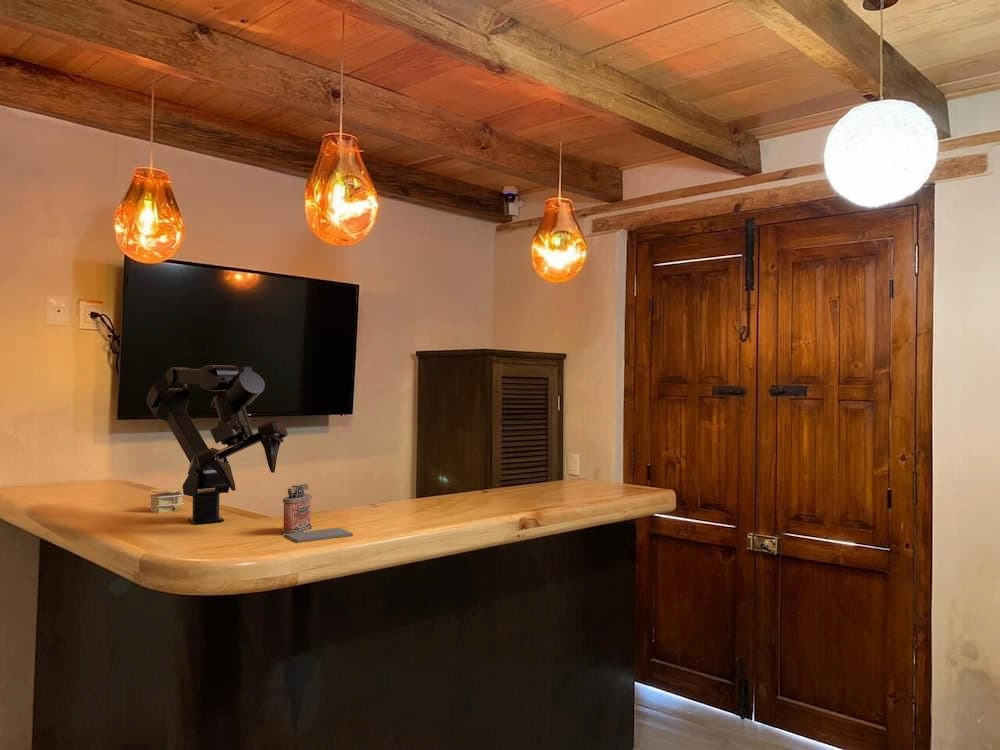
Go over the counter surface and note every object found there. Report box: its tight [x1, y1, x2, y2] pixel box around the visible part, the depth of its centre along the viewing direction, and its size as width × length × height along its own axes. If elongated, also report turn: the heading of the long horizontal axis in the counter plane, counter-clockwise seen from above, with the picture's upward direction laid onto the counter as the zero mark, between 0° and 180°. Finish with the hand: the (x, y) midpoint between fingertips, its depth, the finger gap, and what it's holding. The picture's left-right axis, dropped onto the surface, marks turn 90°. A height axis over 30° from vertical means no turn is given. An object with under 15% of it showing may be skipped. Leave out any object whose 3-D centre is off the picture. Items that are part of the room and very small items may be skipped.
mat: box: [284, 527, 354, 543], centre depth 156 cm, size 7×12×1 cm, turn 126°
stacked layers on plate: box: [148, 486, 185, 514], centre depth 183 cm, size 10×9×6 cm
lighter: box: [282, 483, 313, 535], centre depth 160 cm, size 8×3×10 cm, turn 158°
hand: (253, 481), depth 158 cm, fingers open, 9 cm apart
